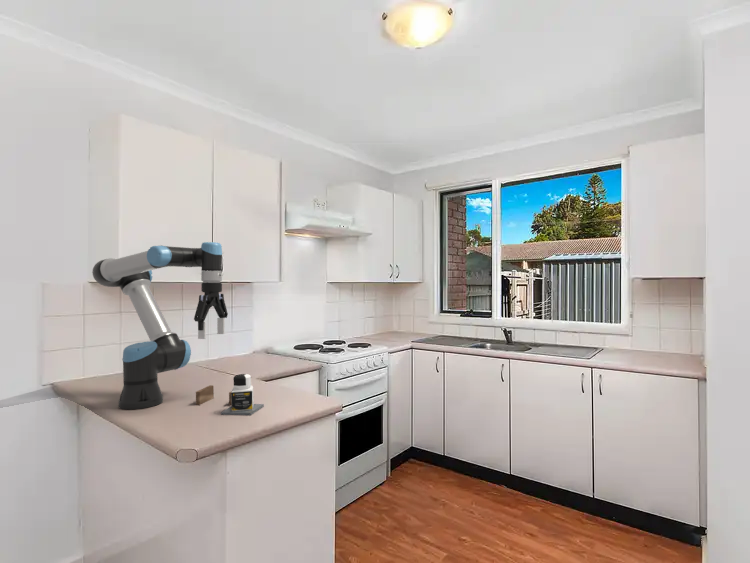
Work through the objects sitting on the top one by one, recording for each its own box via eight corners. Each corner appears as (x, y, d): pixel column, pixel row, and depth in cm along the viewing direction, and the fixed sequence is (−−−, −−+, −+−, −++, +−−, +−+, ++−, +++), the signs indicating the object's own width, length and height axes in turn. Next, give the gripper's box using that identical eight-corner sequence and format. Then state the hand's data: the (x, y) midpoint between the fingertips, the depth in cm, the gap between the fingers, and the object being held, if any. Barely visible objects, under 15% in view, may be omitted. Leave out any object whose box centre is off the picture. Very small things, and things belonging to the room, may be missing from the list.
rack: (196, 404, 167) (195, 391, 167) (210, 397, 177) (209, 385, 177) (233, 405, 164) (232, 392, 164) (245, 398, 174) (245, 386, 174)
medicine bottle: (231, 411, 154) (230, 377, 154) (233, 406, 161) (232, 373, 161) (252, 410, 156) (251, 376, 156) (253, 404, 163) (253, 372, 163)
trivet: (221, 414, 154) (221, 412, 154) (236, 405, 165) (236, 403, 165) (250, 415, 152) (250, 413, 152) (263, 406, 163) (263, 404, 163)
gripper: (202, 282, 158) (202, 341, 158) (236, 281, 183) (236, 332, 183) (183, 282, 159) (183, 340, 160) (219, 281, 184) (219, 331, 184)
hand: (211, 336), depth 171 cm, fingers open, 13 cm apart
